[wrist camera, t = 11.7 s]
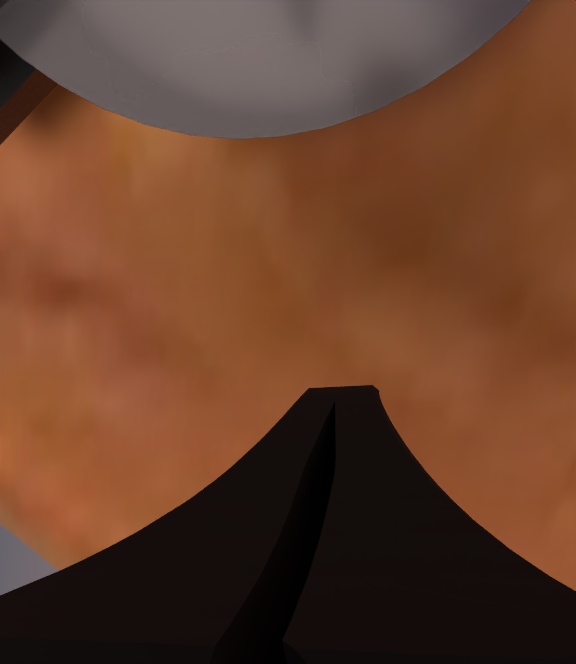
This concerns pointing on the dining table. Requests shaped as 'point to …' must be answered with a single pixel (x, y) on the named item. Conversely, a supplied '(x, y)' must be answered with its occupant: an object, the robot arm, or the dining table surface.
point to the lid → (248, 56)
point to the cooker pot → (19, 89)
